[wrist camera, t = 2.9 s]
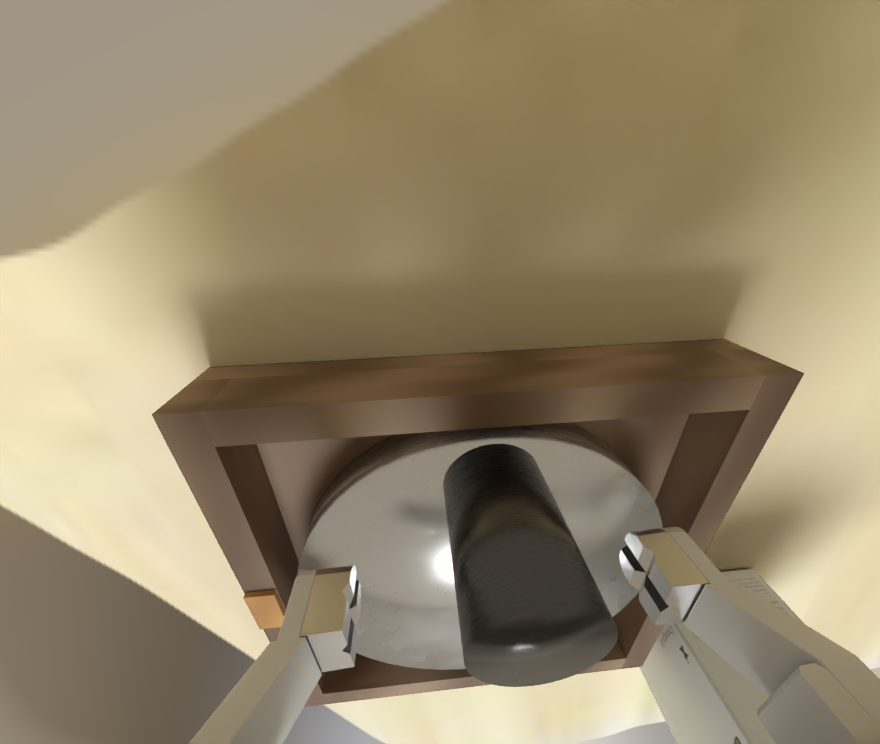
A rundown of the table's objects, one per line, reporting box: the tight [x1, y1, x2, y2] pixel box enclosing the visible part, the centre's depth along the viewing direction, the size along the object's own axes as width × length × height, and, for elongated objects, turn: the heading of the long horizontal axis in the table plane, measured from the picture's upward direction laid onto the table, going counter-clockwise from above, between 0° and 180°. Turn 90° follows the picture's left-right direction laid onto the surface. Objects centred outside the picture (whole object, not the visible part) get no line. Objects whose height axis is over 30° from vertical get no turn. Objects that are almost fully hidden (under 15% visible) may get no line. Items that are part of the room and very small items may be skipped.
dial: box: [297, 423, 662, 687], centre depth 13 cm, size 16×16×7 cm
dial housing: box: [152, 339, 804, 707], centre depth 16 cm, size 20×20×3 cm
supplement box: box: [640, 569, 804, 744], centre depth 17 cm, size 7×7×13 cm
